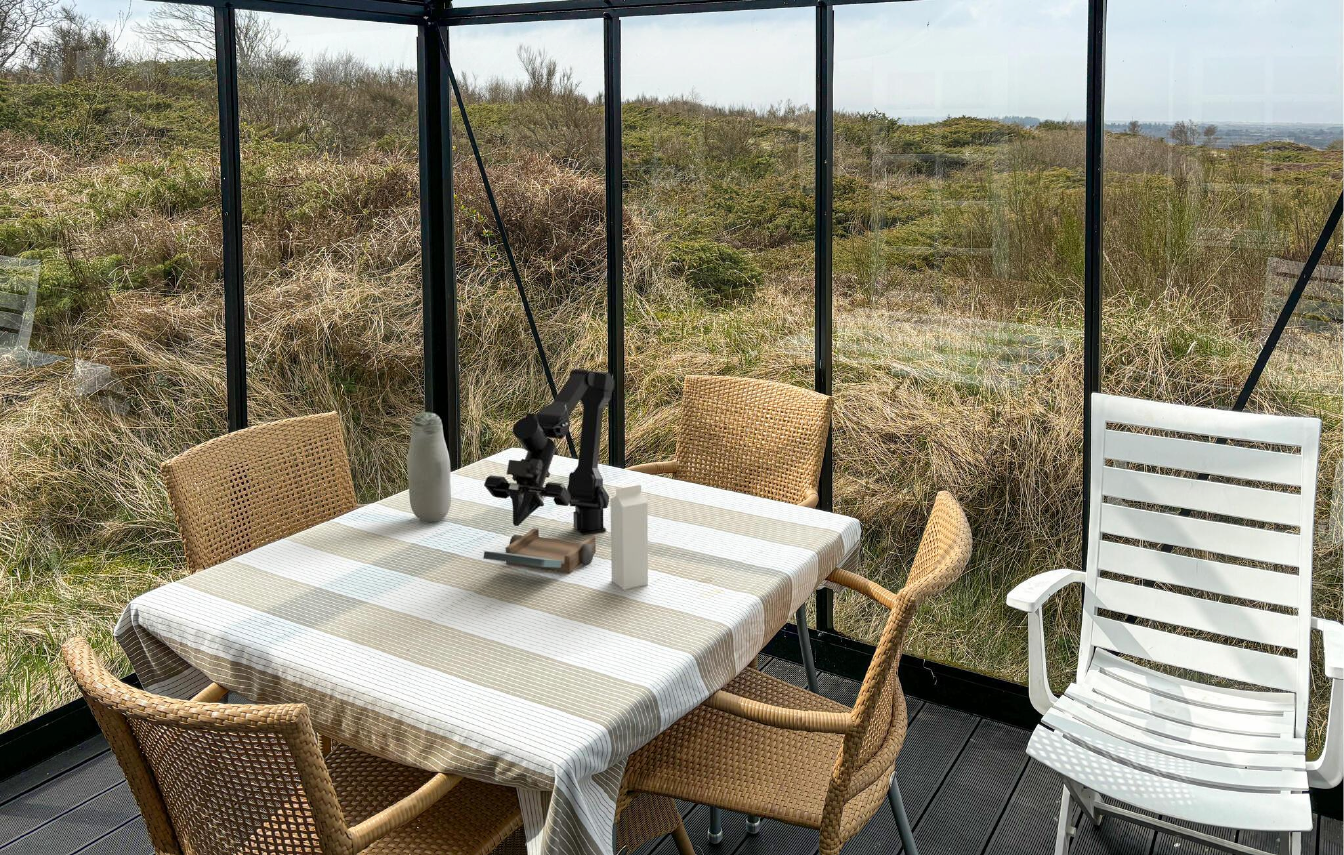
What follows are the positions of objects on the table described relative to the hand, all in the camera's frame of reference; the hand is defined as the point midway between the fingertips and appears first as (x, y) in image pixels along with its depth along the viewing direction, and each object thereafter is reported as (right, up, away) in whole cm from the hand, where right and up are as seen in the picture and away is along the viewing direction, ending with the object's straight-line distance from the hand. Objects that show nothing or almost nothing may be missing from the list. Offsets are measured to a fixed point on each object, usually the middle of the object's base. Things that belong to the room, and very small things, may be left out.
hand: (515, 525), depth 247 cm
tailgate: (+3, -9, +10) cm, 14 cm away
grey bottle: (-27, -3, +44) cm, 52 cm away
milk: (+24, -13, +4) cm, 28 cm away
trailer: (+6, -9, +18) cm, 21 cm away
